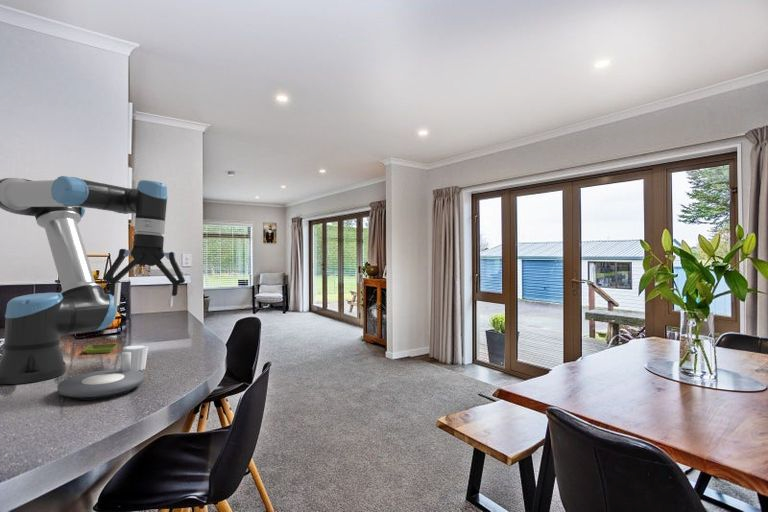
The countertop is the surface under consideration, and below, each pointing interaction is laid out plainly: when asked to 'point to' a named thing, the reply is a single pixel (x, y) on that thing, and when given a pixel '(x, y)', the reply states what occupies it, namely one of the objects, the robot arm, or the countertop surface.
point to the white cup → (137, 356)
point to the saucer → (100, 348)
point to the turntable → (103, 381)
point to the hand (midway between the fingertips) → (143, 306)
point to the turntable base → (101, 396)
